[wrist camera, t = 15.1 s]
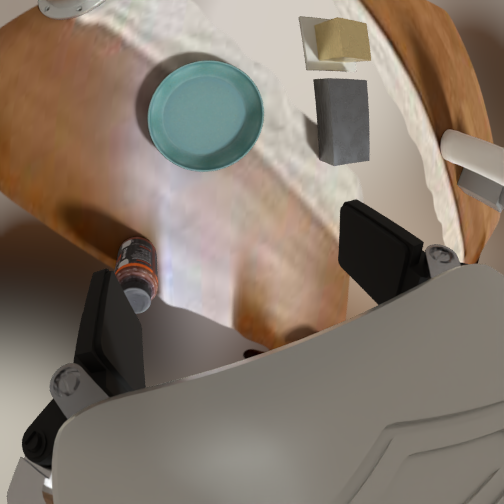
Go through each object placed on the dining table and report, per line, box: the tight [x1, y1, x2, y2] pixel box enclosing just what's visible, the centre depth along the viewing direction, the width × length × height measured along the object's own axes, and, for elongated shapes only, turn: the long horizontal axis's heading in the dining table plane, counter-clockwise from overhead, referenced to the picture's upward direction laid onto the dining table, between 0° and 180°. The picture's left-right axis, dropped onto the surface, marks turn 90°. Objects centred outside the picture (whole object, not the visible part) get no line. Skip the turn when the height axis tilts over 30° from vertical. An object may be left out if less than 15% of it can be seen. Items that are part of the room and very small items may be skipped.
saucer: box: [148, 60, 264, 172], centre depth 31 cm, size 15×15×3 cm
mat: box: [299, 16, 357, 72], centre depth 31 cm, size 9×9×1 cm
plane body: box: [314, 78, 369, 166], centre depth 36 cm, size 13×7×4 cm, turn 8°
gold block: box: [314, 17, 371, 63], centre depth 28 cm, size 6×5×6 cm
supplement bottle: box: [114, 237, 158, 313], centre depth 34 cm, size 6×6×11 cm
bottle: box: [440, 129, 504, 186], centre depth 35 cm, size 8×8×30 cm
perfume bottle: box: [457, 167, 504, 213], centre depth 48 cm, size 7×7×18 cm
